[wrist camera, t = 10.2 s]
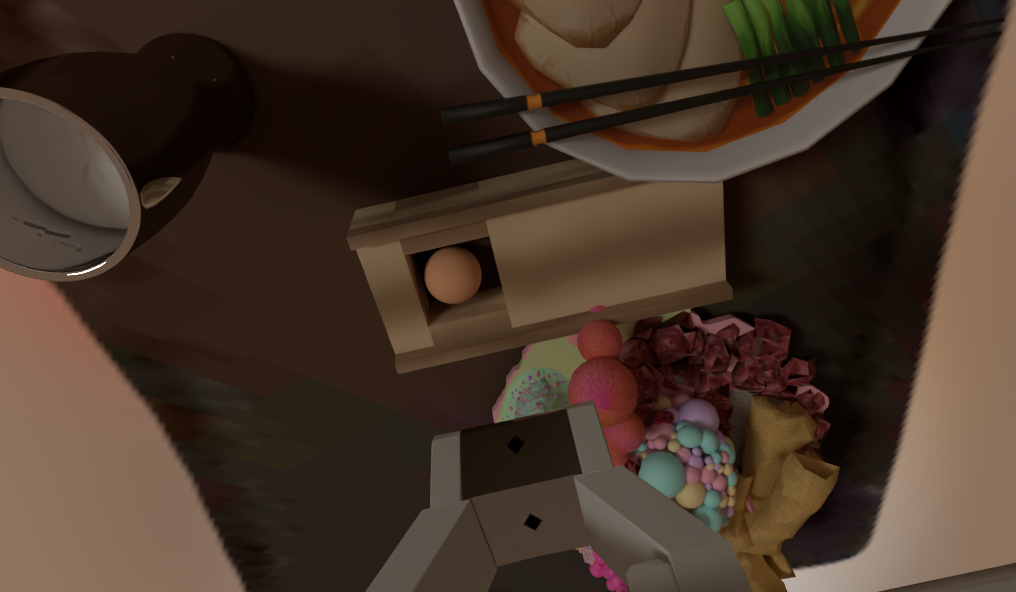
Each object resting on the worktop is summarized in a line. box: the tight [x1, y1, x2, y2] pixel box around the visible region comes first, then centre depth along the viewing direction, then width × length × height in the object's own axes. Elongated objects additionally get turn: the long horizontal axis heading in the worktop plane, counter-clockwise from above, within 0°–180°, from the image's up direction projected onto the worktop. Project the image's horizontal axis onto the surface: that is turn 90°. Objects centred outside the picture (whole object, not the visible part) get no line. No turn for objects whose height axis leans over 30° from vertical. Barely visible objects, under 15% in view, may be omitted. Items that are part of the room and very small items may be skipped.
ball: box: [424, 246, 482, 304], centre depth 37 cm, size 4×4×4 cm
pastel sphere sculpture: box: [492, 305, 840, 592], centre depth 41 cm, size 25×24×9 cm
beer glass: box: [0, 33, 254, 281], centre depth 26 cm, size 7×7×15 cm
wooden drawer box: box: [346, 159, 733, 374], centre depth 37 cm, size 10×21×4 cm, turn 102°
